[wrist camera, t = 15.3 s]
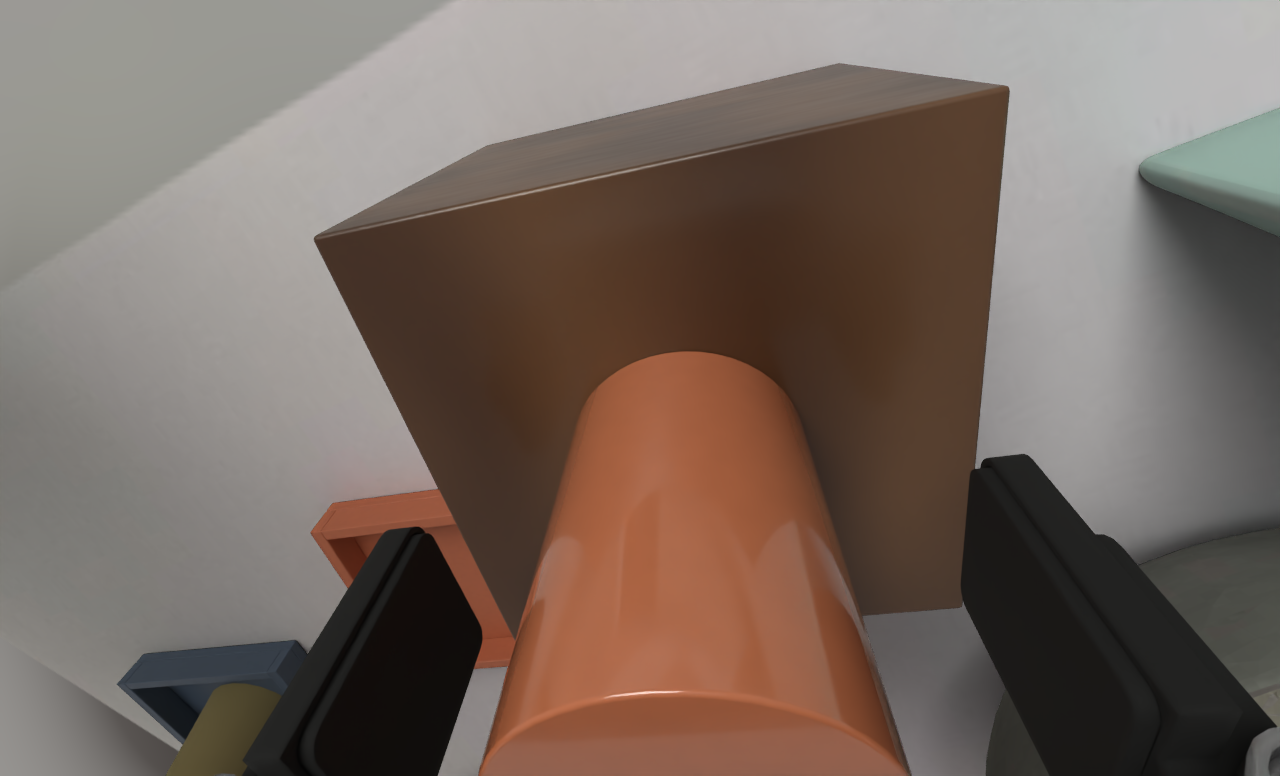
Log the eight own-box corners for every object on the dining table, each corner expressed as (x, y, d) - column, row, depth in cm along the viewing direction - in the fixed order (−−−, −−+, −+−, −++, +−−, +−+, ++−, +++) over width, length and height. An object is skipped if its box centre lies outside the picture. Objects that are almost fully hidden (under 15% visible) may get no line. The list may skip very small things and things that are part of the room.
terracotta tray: (419, 642, 35) (405, 674, 33) (332, 502, 29) (309, 532, 28) (599, 626, 33) (594, 660, 31) (541, 474, 28) (531, 505, 26)
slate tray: (238, 747, 43) (219, 778, 41) (143, 653, 37) (115, 684, 36) (375, 739, 41) (361, 771, 39) (295, 639, 36) (275, 671, 34)
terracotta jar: (604, 545, 14) (547, 910, 8) (545, 370, 12) (403, 710, 6) (812, 522, 13) (916, 910, 7) (795, 330, 11) (928, 676, 5)
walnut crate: (576, 426, 26) (515, 645, 17) (485, 145, 20) (310, 237, 11) (853, 386, 24) (963, 609, 15) (841, 62, 18) (1012, 84, 9)
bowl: (1602, 301, 20) (2270, 489, 12) (1469, 708, 32) (1759, 953, 23) (859, 518, 28) (938, 731, 19) (968, 786, 39) (1048, 995, 31)
